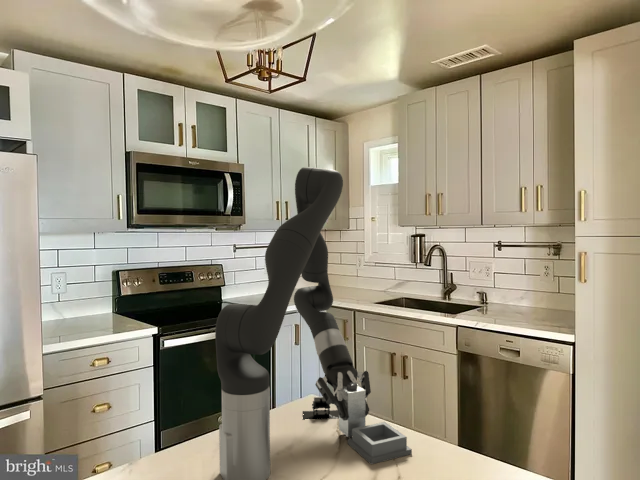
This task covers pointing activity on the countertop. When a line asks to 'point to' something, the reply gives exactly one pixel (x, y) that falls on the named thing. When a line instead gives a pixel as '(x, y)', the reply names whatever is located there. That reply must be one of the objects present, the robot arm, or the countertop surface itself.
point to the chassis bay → (379, 442)
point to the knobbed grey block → (353, 408)
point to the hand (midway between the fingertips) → (356, 416)
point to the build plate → (320, 414)
